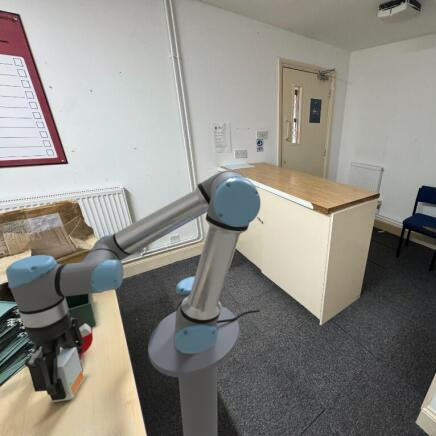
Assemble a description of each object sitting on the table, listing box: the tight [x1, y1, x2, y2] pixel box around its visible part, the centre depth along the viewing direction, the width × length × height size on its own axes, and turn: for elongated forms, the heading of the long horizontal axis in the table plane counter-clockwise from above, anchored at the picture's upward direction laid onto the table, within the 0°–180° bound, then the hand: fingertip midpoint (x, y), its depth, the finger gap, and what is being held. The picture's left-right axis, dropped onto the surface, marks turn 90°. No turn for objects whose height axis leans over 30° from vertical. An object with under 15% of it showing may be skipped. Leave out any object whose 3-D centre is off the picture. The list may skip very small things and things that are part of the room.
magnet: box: [79, 323, 94, 357], centre depth 71 cm, size 12×3×10 cm, turn 129°
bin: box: [65, 293, 97, 328], centre depth 84 cm, size 14×10×10 cm
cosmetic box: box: [52, 347, 85, 403], centre depth 62 cm, size 6×4×12 cm
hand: (68, 384), depth 63 cm, fingers closed on cosmetic box, 6 cm apart
